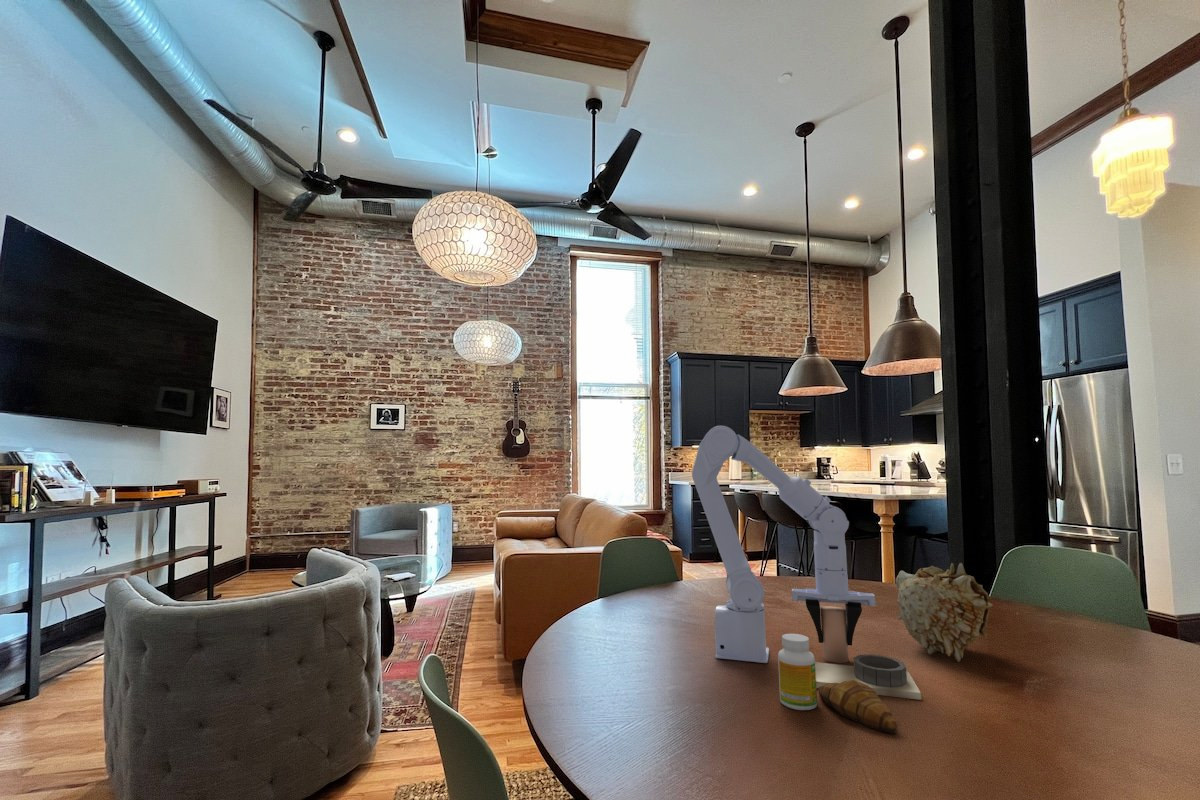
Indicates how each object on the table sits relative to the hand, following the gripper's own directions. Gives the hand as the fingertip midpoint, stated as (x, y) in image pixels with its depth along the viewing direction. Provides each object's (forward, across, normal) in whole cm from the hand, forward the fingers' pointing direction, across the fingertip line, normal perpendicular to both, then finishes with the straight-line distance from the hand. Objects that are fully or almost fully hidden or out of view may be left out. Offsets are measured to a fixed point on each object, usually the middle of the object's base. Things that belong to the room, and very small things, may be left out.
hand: (834, 642), depth 104 cm
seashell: (+3, +21, +11) cm, 24 cm away
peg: (+3, 0, 0) cm, 3 cm away
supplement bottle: (+3, -7, -23) cm, 24 cm away
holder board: (+3, +1, -11) cm, 11 cm away
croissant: (+3, +1, -24) cm, 24 cm away
